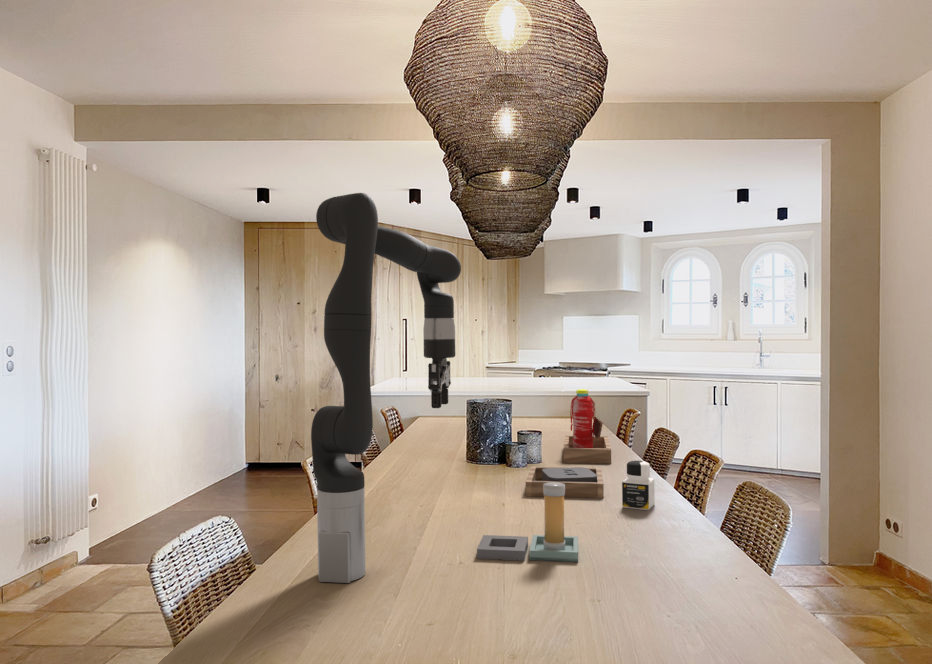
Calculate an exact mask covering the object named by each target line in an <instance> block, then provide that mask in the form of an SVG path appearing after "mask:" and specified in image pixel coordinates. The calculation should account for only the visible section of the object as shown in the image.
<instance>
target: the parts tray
mask: <svg viewBox="0 0 932 664" xmlns="http://www.w3.org/2000/svg"><path fill="white" fill-rule="evenodd" d="M544 539H545V534H544V535H543V534H532V537H531V542H530V547H529V561H539V560H543V561H545V562H564V563H565V562H566V563H567V562H569V563H570V562H571V563H579V536H576V535H575V536H573V535H571V536H570V535H564V540H565V550H544ZM543 561H542V562H543Z"/></svg>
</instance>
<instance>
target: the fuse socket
mask: <svg viewBox="0 0 932 664" xmlns="http://www.w3.org/2000/svg"><path fill="white" fill-rule="evenodd" d="M528 549H529V536H519V535H518V536H516V535H493V534H492V535H491V534H490V535H489V534H483V536H482V537H481V539H480V541H479V544H478V546H477V547H476V559H481V560H482V559H483V560H498V559H502V561H525V560H526V556H527V551H528Z"/></svg>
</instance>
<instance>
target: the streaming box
mask: <svg viewBox="0 0 932 664" xmlns="http://www.w3.org/2000/svg"><path fill="white" fill-rule="evenodd" d="M588 468H589V467H584V466H583V467H582V466H581V467H579V466H578V467H576V466H575V467H573V466H572V467H567V468H546V469H542V481H563V482H597V475H596V474H595V473H594V472H592V471H591V470H589V469H588Z"/></svg>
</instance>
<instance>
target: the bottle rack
mask: <svg viewBox="0 0 932 664" xmlns="http://www.w3.org/2000/svg"><path fill="white" fill-rule="evenodd" d="M562 451H563V463H571V464H573V463H574V464H576V463H578V464H579V463H580V464H582V463H583V464H586V463H587V464H612V446H611V443H610V440H609V436H604V435H602V436H601V435H600V438H599V437H598V438H596V437H595V435H594V440H593V448H573V435H565V436H564V443H563V450H562Z"/></svg>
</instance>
